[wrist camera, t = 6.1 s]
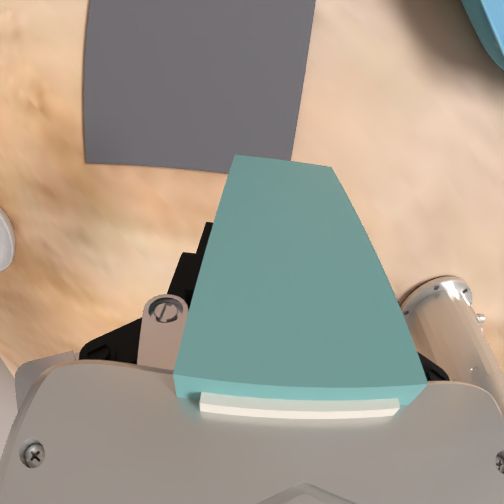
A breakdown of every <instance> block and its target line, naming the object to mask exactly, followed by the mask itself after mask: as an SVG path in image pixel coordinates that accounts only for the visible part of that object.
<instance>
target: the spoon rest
mask: <svg viewBox="0 0 504 504" xmlns="http://www.w3.org/2000/svg"><path fill="white" fill-rule="evenodd" d="M15 246H16V241H15V234H14V230H13V227H12V224H11V222H10V220H9V218H8V216H7V215H6V213H5V212H4V211H3V210H2V209H1V208H0V271H2V270H4V269H6V268H7V267H8V266H9V265H10V264H11V262H12V261H13V258H14V254H15Z"/></svg>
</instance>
